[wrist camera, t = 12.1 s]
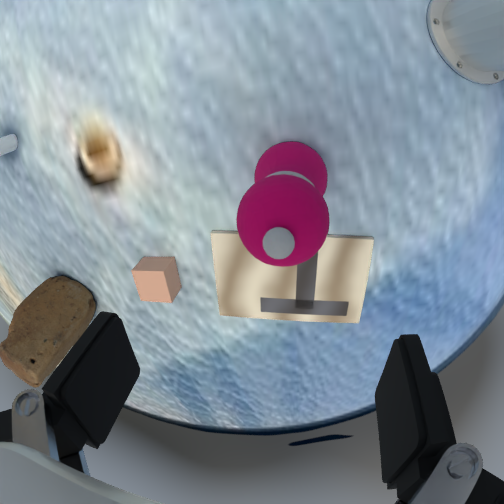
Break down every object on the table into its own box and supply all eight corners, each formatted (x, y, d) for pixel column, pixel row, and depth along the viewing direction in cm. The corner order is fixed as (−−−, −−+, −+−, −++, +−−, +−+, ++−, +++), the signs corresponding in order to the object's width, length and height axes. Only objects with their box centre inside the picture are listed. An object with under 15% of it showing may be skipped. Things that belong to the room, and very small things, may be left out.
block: (103, 297, 49) (37, 379, 31) (95, 321, 52) (38, 397, 35) (57, 263, 47) (-16, 331, 30) (53, 289, 51) (-10, 355, 33)
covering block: (174, 256, 42) (163, 271, 39) (181, 286, 44) (171, 302, 41) (144, 256, 43) (131, 270, 40) (152, 285, 45) (140, 300, 42)
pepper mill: (325, 198, 35) (342, 305, 17) (263, 199, 36) (221, 304, 19) (323, 136, 31) (347, 182, 14) (258, 138, 33) (201, 187, 15)
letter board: (372, 236, 36) (373, 239, 35) (358, 319, 42) (358, 323, 41) (212, 230, 39) (210, 233, 38) (221, 311, 45) (219, 315, 44)
